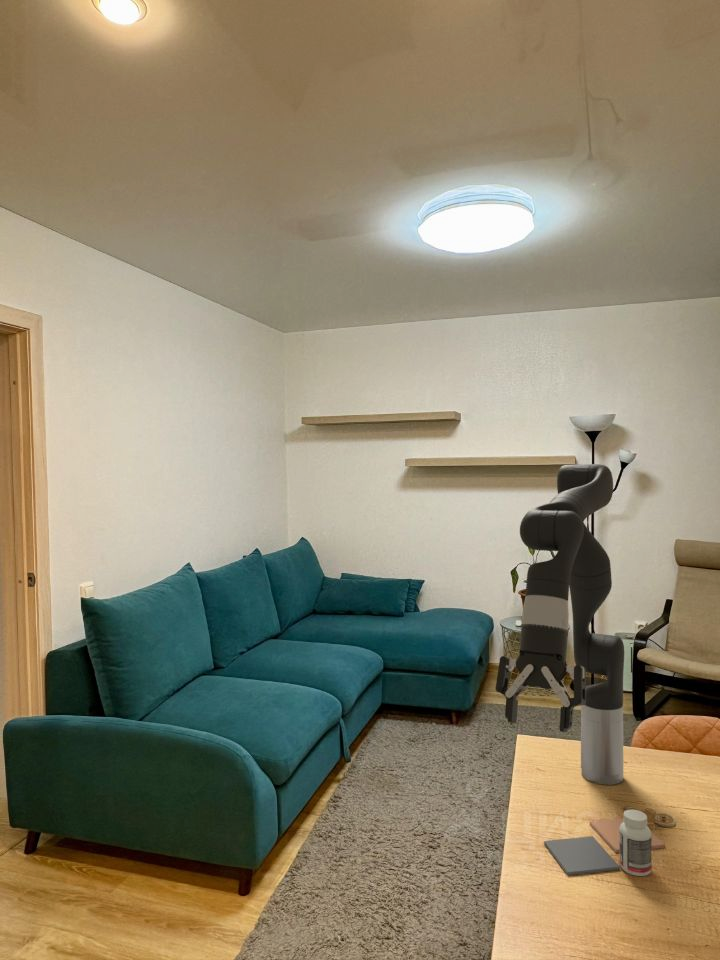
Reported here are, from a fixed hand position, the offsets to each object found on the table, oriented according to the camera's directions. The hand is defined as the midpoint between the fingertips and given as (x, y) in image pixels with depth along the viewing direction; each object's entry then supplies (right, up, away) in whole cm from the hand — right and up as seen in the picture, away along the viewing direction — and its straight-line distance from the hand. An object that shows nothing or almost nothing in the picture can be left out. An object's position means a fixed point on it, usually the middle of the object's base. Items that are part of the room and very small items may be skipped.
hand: (536, 727), depth 108 cm
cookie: (+31, -30, +30) cm, 53 cm away
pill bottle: (+21, -31, +13) cm, 40 cm away
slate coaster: (+13, -30, +17) cm, 37 cm away
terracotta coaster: (+24, -30, +24) cm, 45 cm away
